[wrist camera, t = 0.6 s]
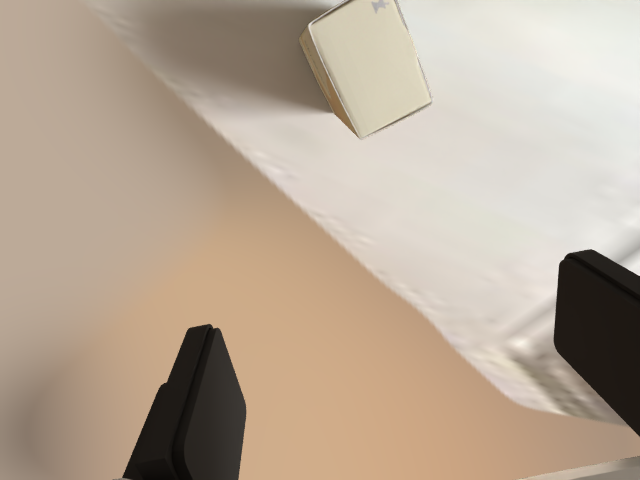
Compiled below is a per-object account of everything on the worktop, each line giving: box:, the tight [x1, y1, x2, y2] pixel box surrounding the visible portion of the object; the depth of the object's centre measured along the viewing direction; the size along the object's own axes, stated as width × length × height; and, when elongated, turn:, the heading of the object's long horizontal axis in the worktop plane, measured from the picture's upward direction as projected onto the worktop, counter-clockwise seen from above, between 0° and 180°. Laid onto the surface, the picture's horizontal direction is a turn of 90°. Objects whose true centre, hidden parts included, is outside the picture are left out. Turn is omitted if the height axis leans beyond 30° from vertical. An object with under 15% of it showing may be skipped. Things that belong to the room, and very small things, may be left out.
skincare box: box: [299, 0, 433, 140], centre depth 24 cm, size 6×4×12 cm
